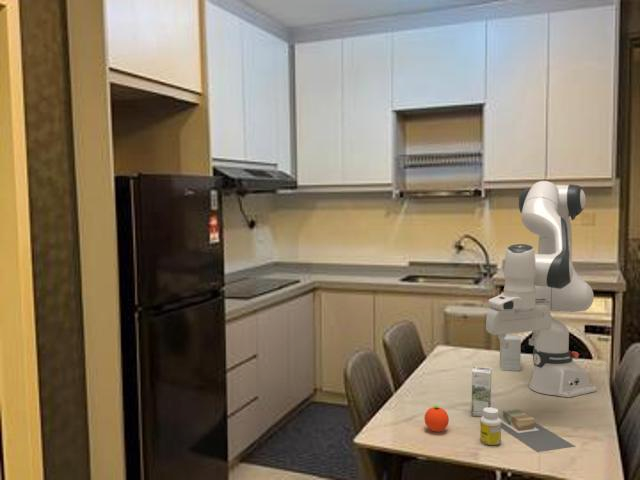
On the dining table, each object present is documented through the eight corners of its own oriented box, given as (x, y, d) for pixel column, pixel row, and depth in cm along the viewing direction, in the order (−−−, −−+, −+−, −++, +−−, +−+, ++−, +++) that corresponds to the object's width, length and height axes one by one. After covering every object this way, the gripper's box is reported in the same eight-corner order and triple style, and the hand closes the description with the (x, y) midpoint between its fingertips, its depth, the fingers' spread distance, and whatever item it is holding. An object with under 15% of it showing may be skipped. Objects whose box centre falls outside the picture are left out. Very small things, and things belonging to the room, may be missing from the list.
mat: (525, 418, 175) (525, 416, 175) (575, 448, 154) (575, 446, 154) (490, 423, 172) (490, 420, 172) (537, 454, 151) (537, 451, 151)
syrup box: (491, 412, 181) (491, 366, 180) (490, 418, 175) (490, 372, 174) (472, 410, 183) (472, 365, 182) (470, 416, 177) (471, 370, 176)
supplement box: (518, 366, 230) (519, 335, 229) (520, 371, 223) (521, 339, 222) (499, 365, 232) (499, 334, 231) (500, 370, 225) (501, 338, 224)
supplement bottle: (477, 441, 159) (477, 406, 159) (496, 440, 160) (496, 405, 159) (484, 449, 154) (484, 413, 153) (504, 448, 154) (504, 413, 154)
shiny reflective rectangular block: (534, 429, 166) (534, 418, 165) (519, 431, 164) (519, 420, 164) (517, 418, 173) (517, 409, 173) (503, 420, 172) (503, 410, 172)
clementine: (422, 424, 171) (422, 401, 171) (445, 424, 171) (445, 401, 171) (426, 435, 163) (426, 411, 163) (450, 435, 163) (451, 411, 163)
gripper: (542, 296, 174) (542, 340, 175) (483, 300, 168) (482, 347, 169) (556, 299, 168) (555, 346, 169) (495, 304, 162) (494, 352, 163)
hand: (518, 346), depth 169 cm, fingers open, 8 cm apart
